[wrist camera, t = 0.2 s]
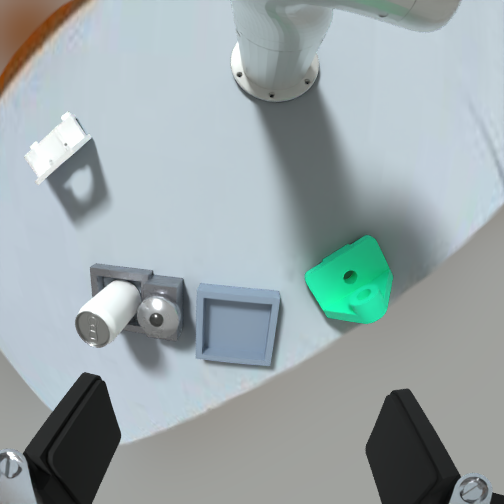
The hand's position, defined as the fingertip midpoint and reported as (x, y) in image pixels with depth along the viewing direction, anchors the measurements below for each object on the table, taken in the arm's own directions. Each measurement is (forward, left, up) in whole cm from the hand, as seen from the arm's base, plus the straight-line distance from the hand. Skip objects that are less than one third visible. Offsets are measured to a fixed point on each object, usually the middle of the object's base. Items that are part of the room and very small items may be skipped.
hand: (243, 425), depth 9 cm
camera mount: (+6, +15, -37) cm, 40 cm away
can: (+14, -20, -37) cm, 44 cm away
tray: (+16, -1, -36) cm, 40 cm away
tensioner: (+14, -18, -36) cm, 43 cm away
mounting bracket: (-10, -33, -37) cm, 50 cm away
